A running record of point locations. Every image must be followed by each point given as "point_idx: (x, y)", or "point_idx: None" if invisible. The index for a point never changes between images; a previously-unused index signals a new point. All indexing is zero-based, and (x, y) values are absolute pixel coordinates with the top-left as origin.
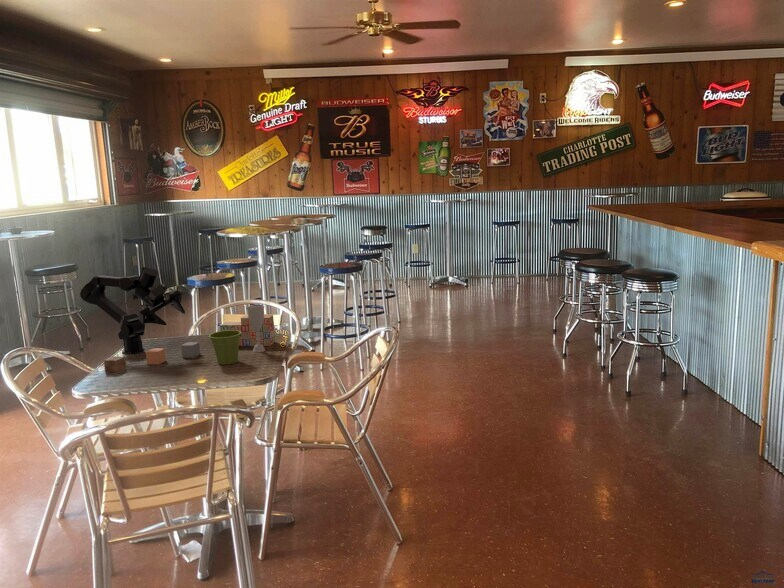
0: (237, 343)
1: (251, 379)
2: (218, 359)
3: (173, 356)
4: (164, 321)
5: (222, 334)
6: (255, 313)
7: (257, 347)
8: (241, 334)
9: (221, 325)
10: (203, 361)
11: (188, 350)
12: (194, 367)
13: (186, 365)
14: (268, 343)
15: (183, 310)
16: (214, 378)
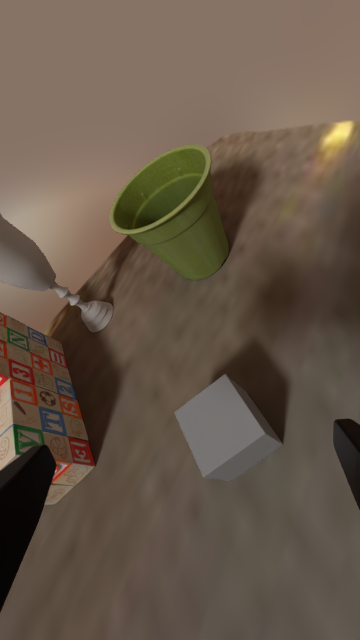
0: (159, 200)
1: (242, 132)
2: (225, 236)
3: (315, 517)
4: (353, 439)
5: (143, 235)
6: (11, 224)
7: (99, 302)
8: (44, 390)
9: (16, 449)
10: (246, 310)
11: (248, 402)
12: (303, 258)
13: (318, 298)
14: (56, 343)
15: (21, 462)
16: (300, 148)
